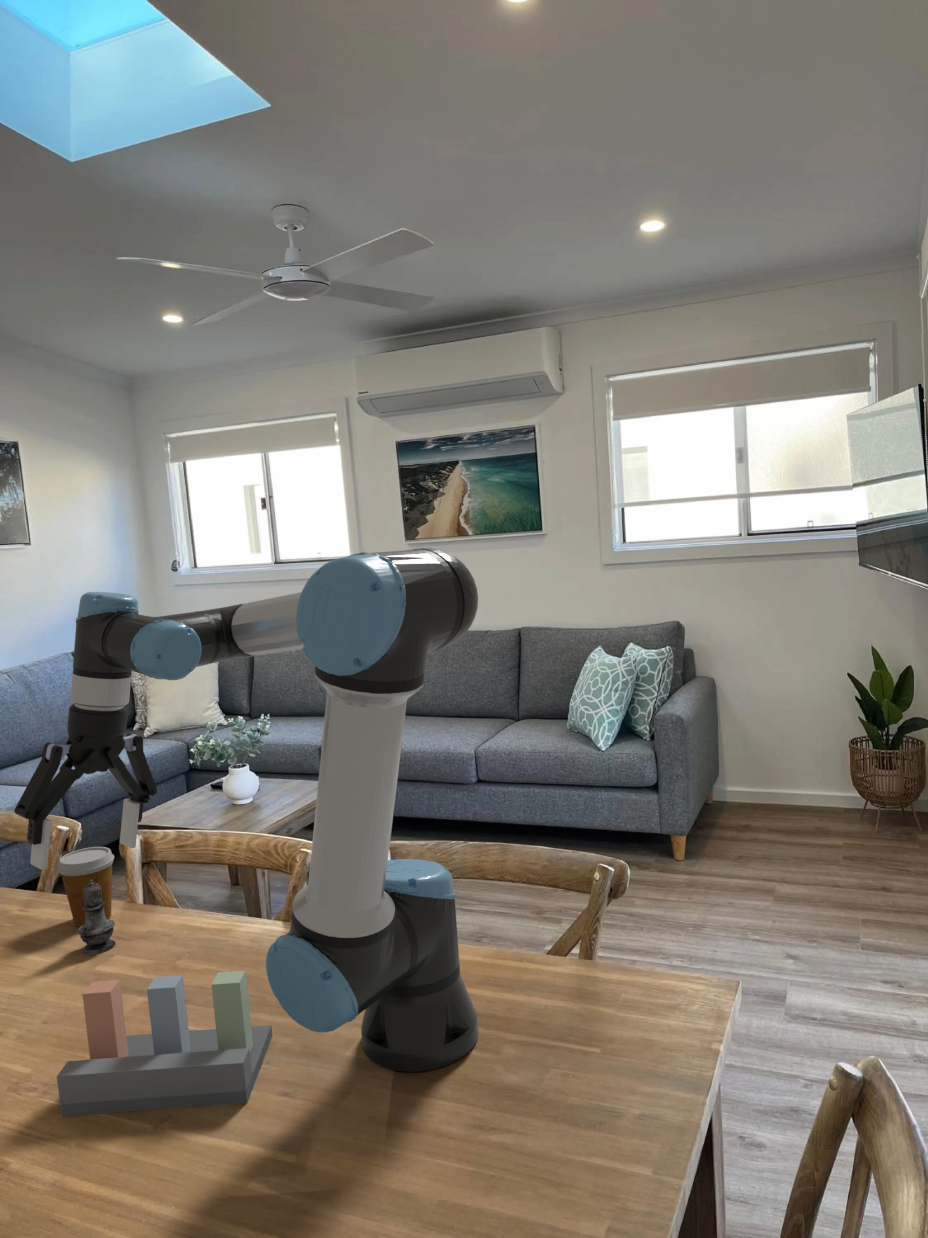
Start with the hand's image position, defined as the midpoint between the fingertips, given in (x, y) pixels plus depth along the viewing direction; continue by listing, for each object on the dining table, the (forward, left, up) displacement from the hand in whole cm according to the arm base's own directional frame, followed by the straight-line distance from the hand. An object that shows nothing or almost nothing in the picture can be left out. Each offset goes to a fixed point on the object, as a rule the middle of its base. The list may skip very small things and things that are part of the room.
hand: (85, 855), depth 123 cm
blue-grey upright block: (-14, +13, -22) cm, 30 cm away
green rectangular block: (-22, +13, -22) cm, 34 cm away
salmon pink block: (-6, +13, -22) cm, 27 cm away
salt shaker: (+11, -24, -24) cm, 36 cm away
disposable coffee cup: (+17, -36, -24) cm, 47 cm away
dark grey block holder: (-14, +14, -24) cm, 31 cm away
